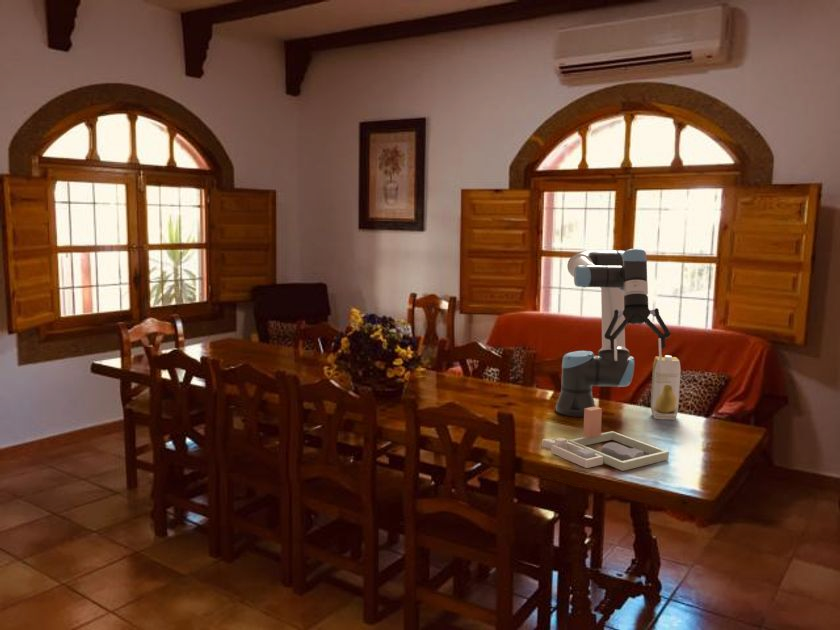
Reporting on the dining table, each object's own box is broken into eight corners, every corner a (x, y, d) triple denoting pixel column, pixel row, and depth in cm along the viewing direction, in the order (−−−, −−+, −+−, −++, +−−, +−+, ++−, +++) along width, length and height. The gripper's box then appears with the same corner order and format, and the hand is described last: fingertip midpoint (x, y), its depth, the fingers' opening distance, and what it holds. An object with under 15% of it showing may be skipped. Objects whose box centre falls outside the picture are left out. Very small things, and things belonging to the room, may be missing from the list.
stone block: (613, 455, 236) (597, 456, 229) (615, 441, 236) (600, 442, 229) (646, 466, 228) (631, 468, 221) (649, 451, 228) (634, 452, 221)
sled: (549, 451, 232) (550, 439, 232) (565, 448, 236) (566, 436, 235) (586, 468, 218) (586, 455, 218) (602, 464, 222) (603, 451, 221)
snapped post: (542, 446, 239) (542, 439, 239) (546, 445, 241) (546, 438, 240) (554, 450, 236) (554, 443, 235) (558, 448, 237) (558, 441, 237)
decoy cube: (576, 462, 224) (576, 450, 223) (585, 460, 226) (586, 448, 226) (585, 466, 221) (585, 454, 220) (594, 464, 223) (595, 452, 222)
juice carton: (652, 419, 269) (656, 356, 266) (649, 413, 277) (652, 352, 273) (678, 420, 268) (682, 357, 264) (674, 414, 276) (678, 353, 272)
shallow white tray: (565, 446, 237) (567, 411, 236) (610, 437, 248) (611, 403, 246) (622, 470, 216) (624, 432, 214) (668, 459, 226) (670, 422, 225)
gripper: (595, 294, 235) (596, 357, 230) (676, 290, 228) (679, 356, 222) (597, 300, 242) (598, 362, 237) (676, 297, 235) (679, 361, 229)
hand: (637, 359), depth 230 cm, fingers open, 13 cm apart
